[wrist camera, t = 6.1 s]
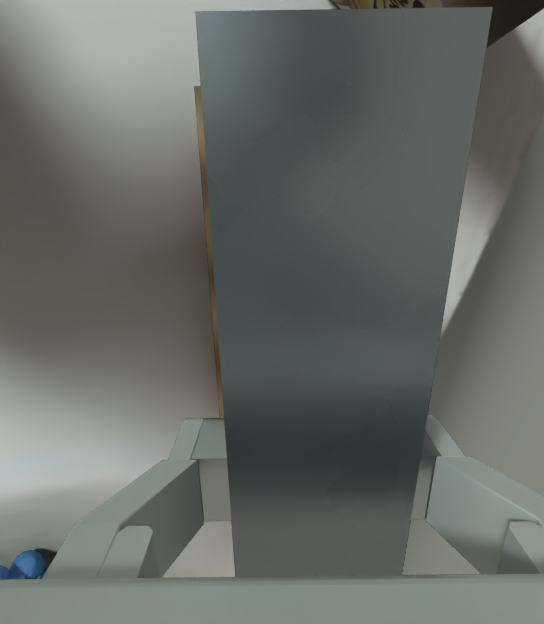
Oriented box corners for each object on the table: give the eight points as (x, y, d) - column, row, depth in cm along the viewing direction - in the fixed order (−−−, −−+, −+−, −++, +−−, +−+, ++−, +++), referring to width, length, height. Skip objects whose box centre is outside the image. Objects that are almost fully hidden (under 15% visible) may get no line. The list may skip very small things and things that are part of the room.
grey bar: (189, 100, 8) (106, 13, 4) (424, 97, 8) (582, 5, 4) (233, 644, 15) (219, 819, 11) (361, 643, 15) (396, 818, 11)
